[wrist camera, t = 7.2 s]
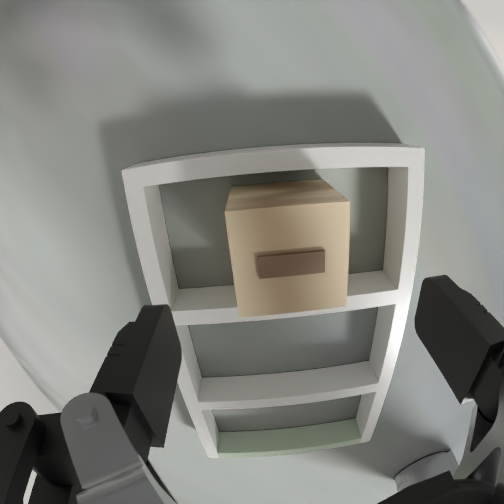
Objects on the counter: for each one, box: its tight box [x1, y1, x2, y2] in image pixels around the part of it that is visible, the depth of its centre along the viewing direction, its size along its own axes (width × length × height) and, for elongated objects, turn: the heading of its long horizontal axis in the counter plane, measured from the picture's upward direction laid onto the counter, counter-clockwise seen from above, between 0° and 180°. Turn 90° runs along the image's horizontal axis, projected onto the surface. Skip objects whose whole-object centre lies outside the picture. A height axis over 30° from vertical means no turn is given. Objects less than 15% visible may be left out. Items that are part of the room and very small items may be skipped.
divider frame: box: [121, 143, 425, 458], centre depth 19 cm, size 15×25×2 cm, turn 5°
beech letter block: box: [225, 179, 350, 318], centre depth 15 cm, size 5×5×5 cm
